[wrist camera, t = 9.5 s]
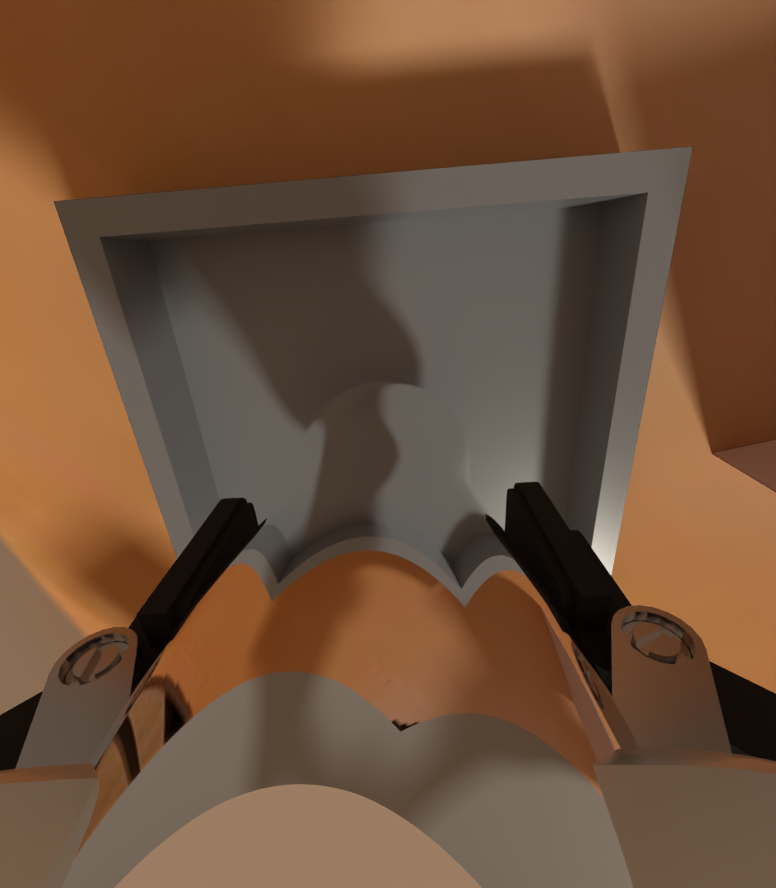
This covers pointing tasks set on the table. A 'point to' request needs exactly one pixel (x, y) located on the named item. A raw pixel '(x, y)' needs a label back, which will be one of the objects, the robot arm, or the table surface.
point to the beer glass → (362, 695)
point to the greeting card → (754, 461)
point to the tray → (389, 321)
